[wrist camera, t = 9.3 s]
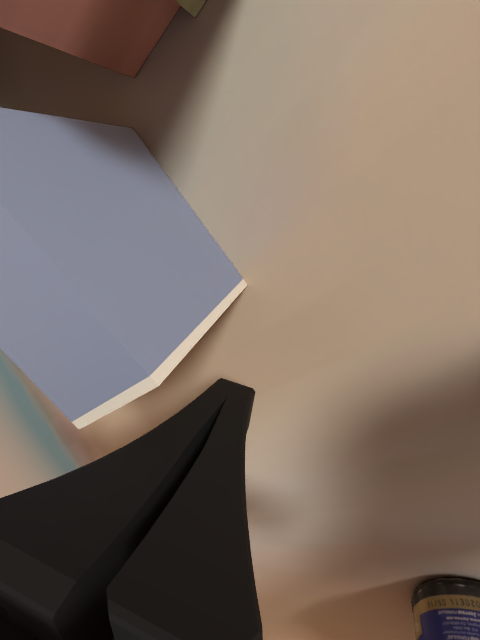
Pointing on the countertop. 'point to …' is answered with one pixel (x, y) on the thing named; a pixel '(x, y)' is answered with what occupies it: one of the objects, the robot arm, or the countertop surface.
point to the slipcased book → (99, 264)
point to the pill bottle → (447, 609)
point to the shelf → (96, 27)
